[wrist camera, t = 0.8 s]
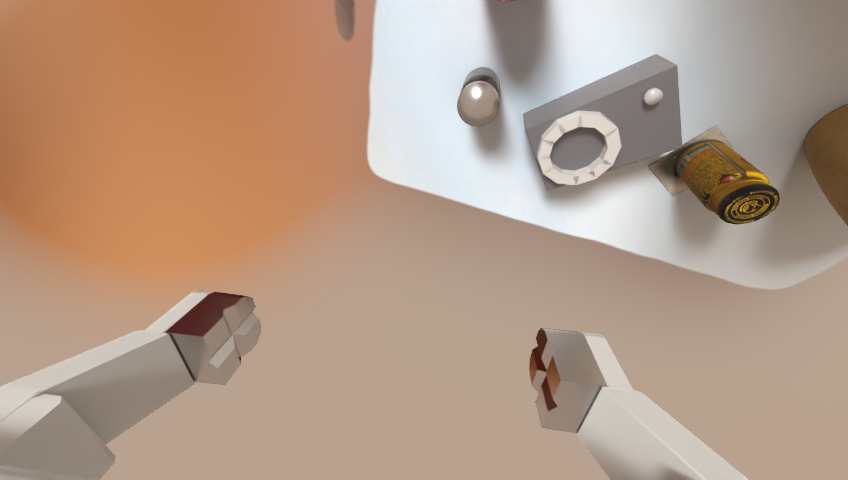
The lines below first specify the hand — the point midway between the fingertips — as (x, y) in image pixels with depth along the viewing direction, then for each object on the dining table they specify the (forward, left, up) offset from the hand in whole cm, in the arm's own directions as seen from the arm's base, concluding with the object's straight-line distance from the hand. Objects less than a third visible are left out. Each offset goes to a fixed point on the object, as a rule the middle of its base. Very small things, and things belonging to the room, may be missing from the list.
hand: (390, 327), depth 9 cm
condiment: (-21, +27, -43) cm, 55 cm away
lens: (+2, +4, -42) cm, 42 cm away
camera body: (-10, +15, -42) cm, 46 cm away
